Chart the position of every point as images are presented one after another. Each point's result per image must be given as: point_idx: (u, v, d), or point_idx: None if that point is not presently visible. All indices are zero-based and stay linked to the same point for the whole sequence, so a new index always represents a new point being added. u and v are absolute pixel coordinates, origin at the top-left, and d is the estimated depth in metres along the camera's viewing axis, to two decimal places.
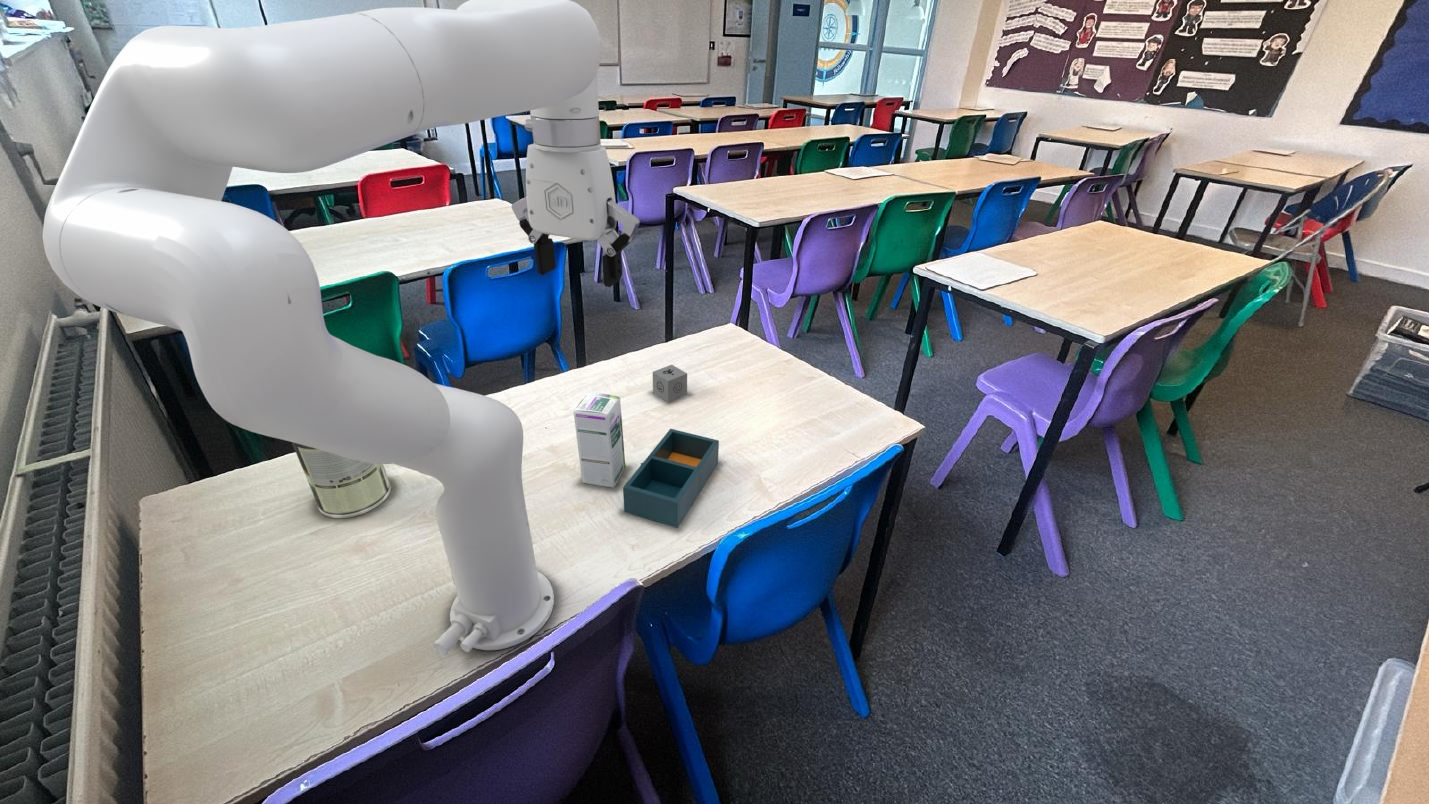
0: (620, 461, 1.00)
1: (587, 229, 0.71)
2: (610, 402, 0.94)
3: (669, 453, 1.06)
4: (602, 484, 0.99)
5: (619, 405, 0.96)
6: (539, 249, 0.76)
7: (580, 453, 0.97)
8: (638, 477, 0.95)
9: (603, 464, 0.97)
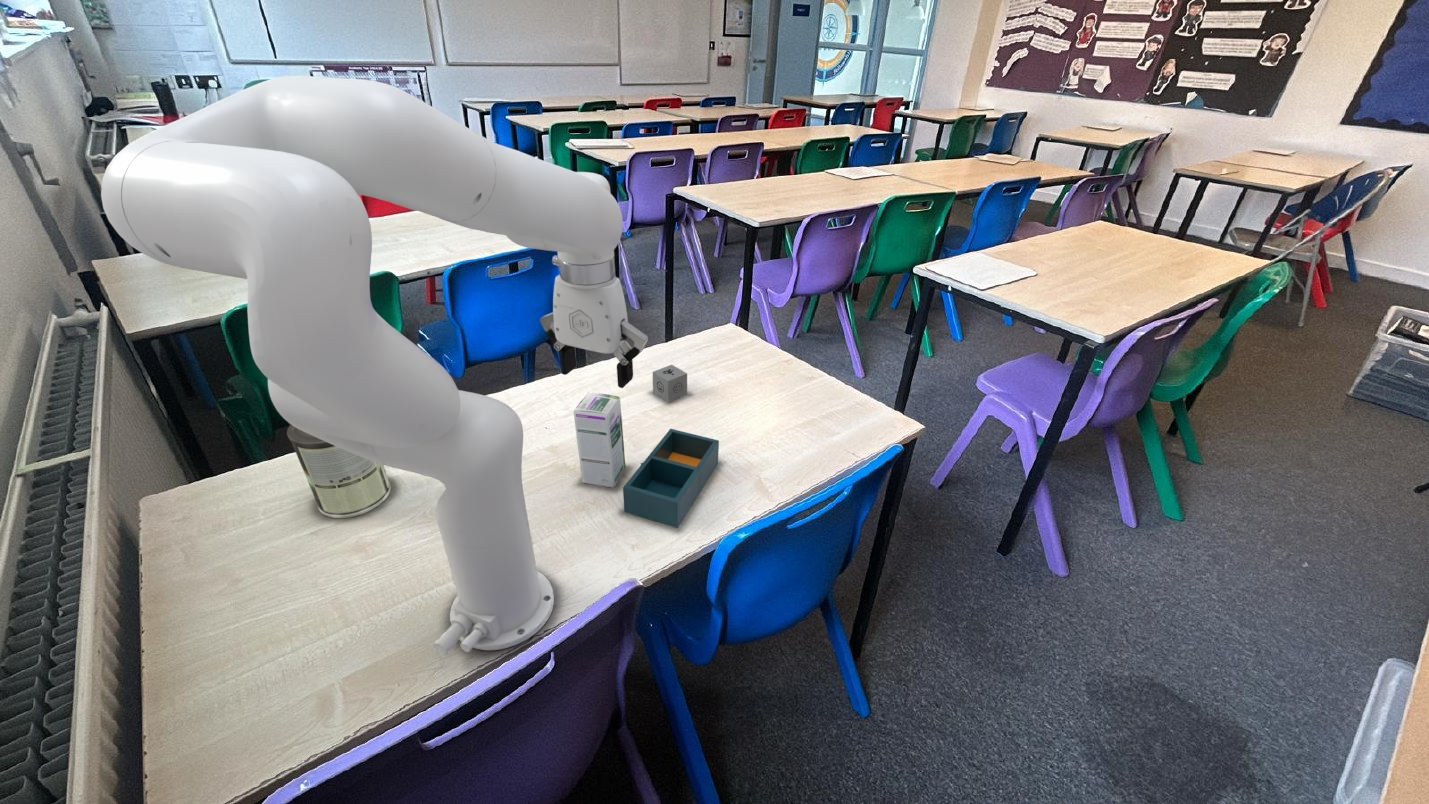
0: (620, 461, 1.00)
1: (604, 345, 0.85)
2: (610, 402, 0.94)
3: (669, 453, 1.06)
4: (602, 484, 0.99)
5: (619, 405, 0.96)
6: (563, 355, 0.90)
7: (580, 453, 0.97)
8: (638, 477, 0.95)
9: (603, 464, 0.97)
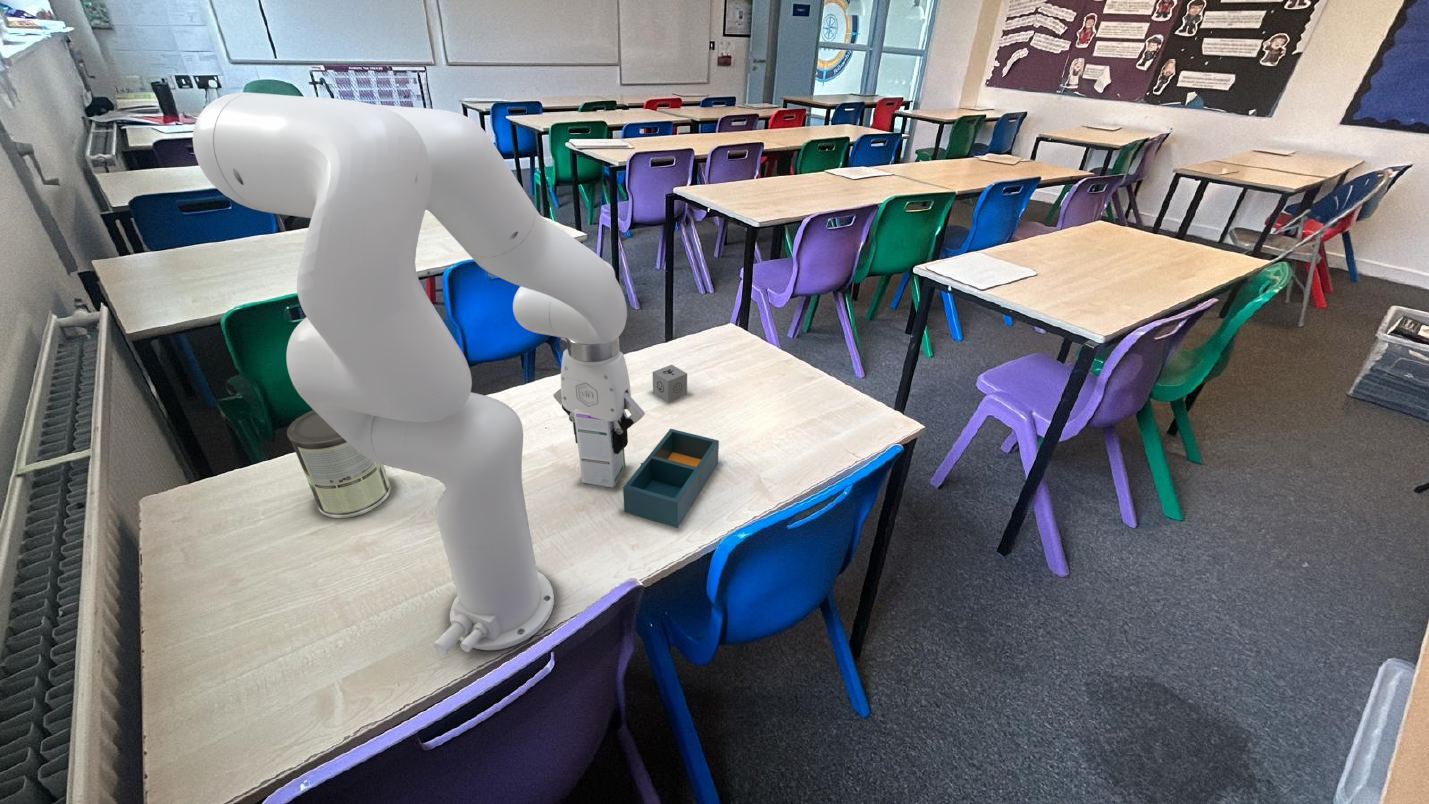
0: (620, 461, 1.00)
1: (608, 415, 0.91)
2: None
3: (669, 453, 1.06)
4: (602, 484, 0.99)
5: None
6: None
7: (580, 453, 0.97)
8: (638, 477, 0.95)
9: (603, 464, 0.97)
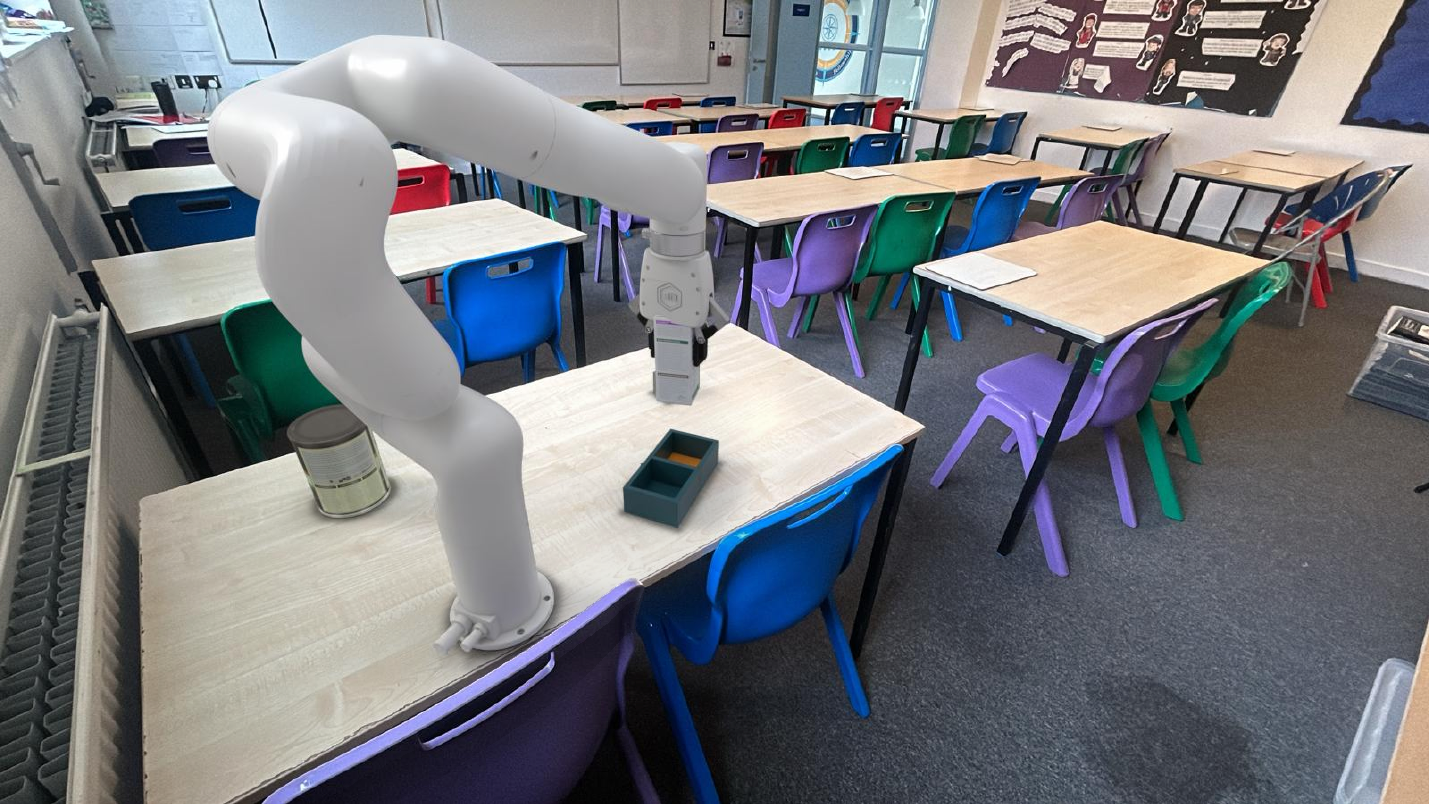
0: (696, 378, 0.93)
1: (693, 319, 0.84)
2: None
3: (669, 453, 1.06)
4: (678, 402, 0.92)
5: None
6: None
7: (657, 366, 0.90)
8: (638, 477, 0.95)
9: (681, 378, 0.90)
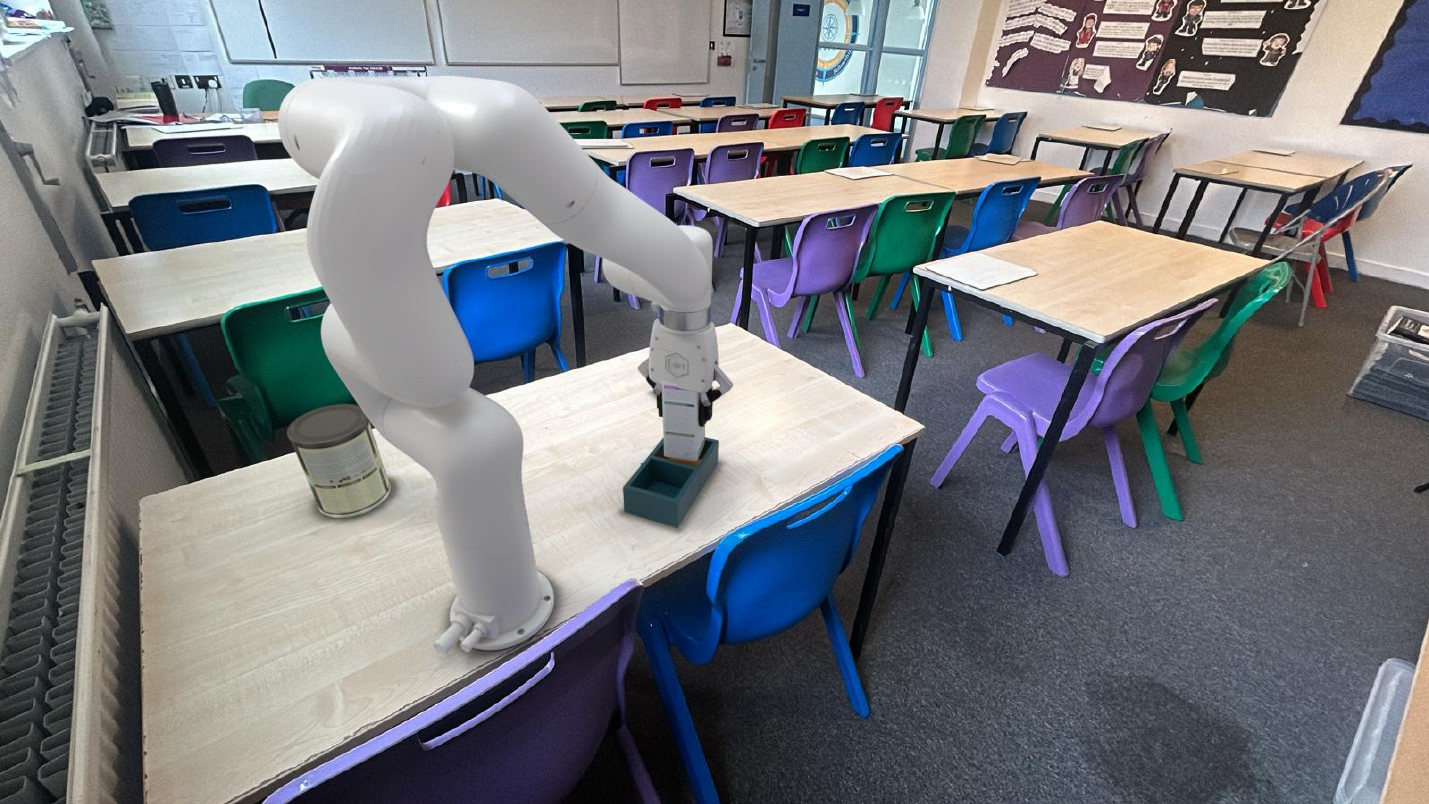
0: (702, 435, 0.99)
1: (698, 386, 0.90)
2: None
3: None
4: (685, 458, 0.98)
5: None
6: None
7: (665, 426, 0.96)
8: (638, 477, 0.95)
9: (688, 437, 0.96)
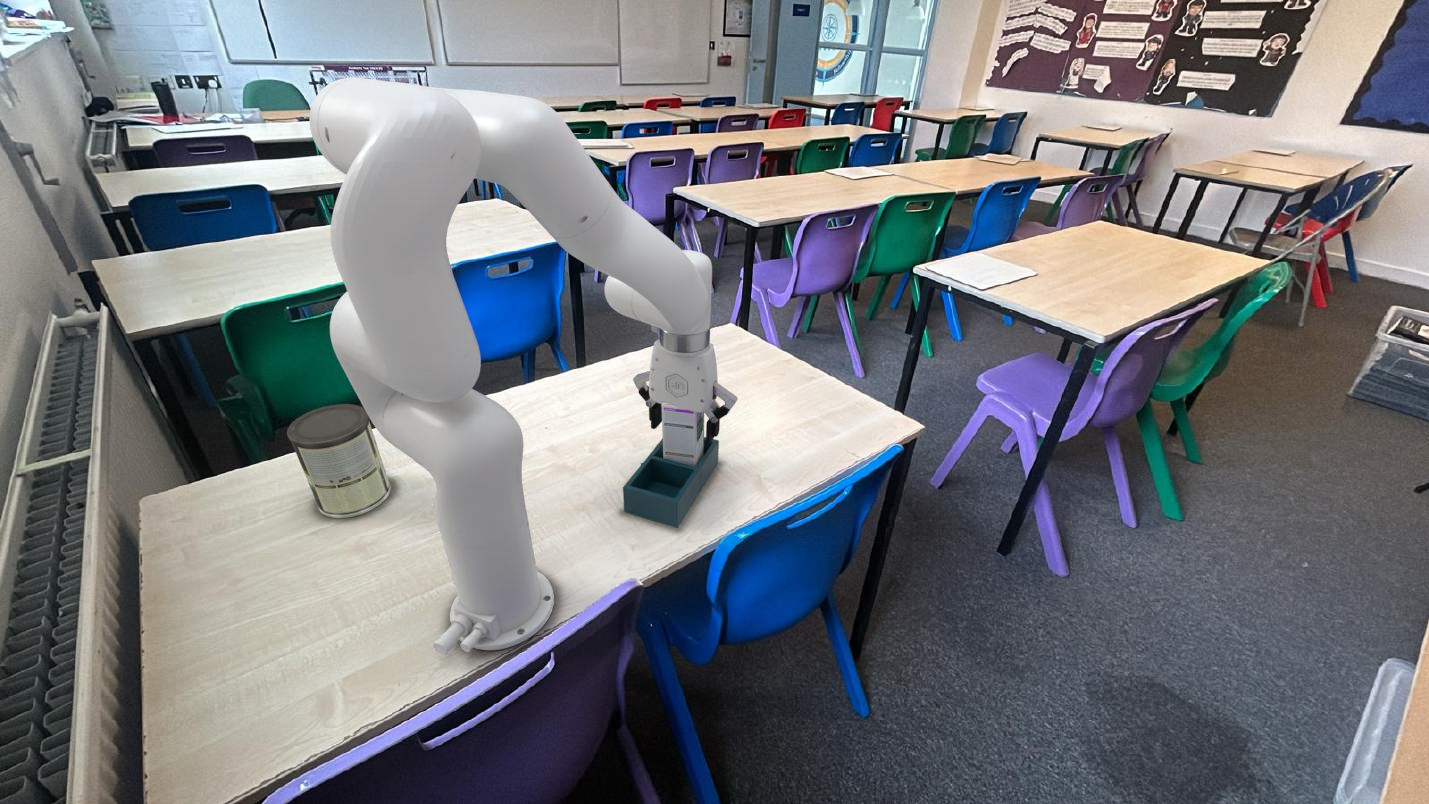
0: (701, 455, 1.01)
1: (698, 406, 0.92)
2: None
3: None
4: None
5: None
6: (654, 411, 0.97)
7: (664, 446, 0.98)
8: (638, 477, 0.95)
9: (687, 457, 0.98)
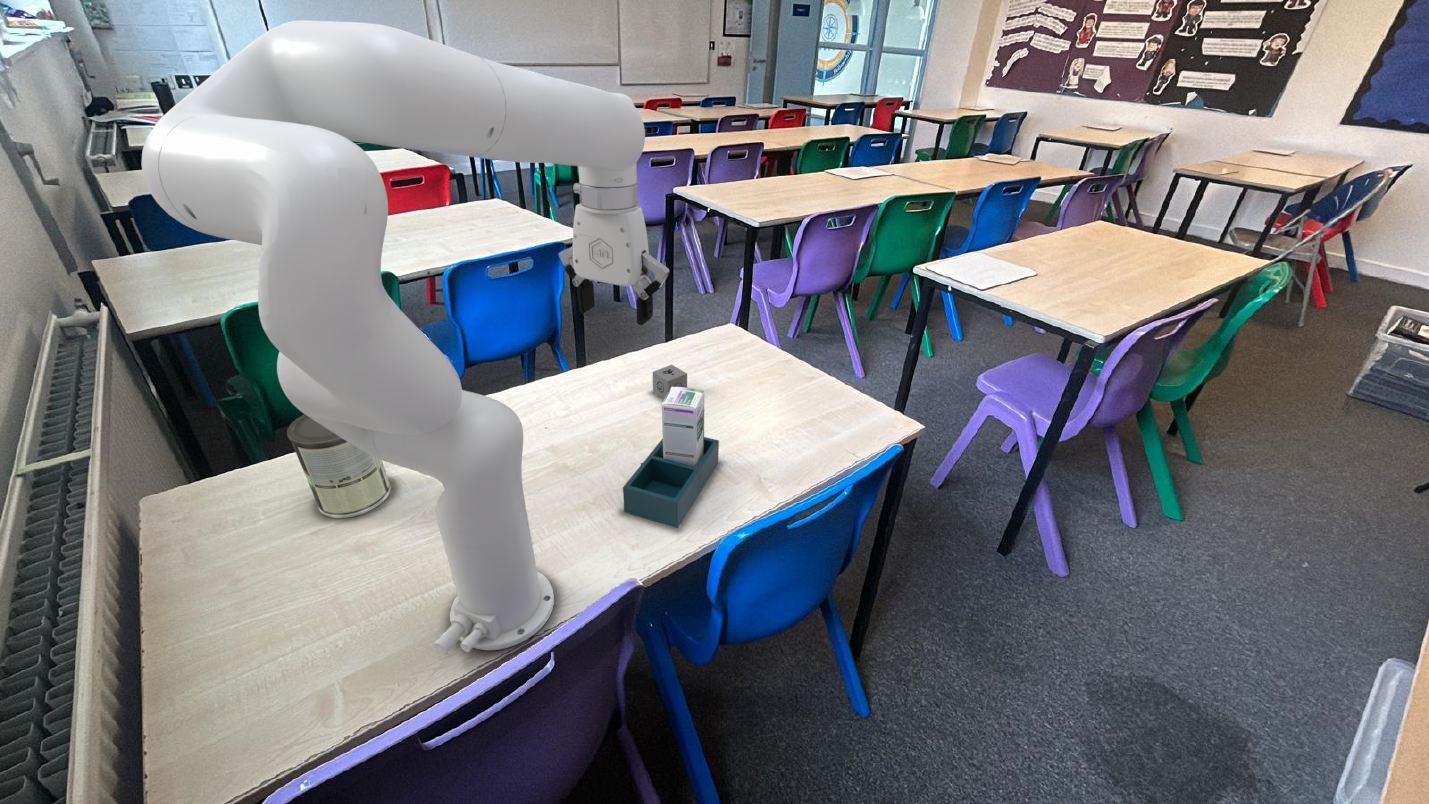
0: (701, 455, 1.01)
1: (624, 277, 0.82)
2: (696, 396, 0.95)
3: None
4: None
5: (703, 399, 0.97)
6: (581, 291, 0.88)
7: (664, 446, 0.98)
8: (638, 477, 0.95)
9: (687, 457, 0.98)
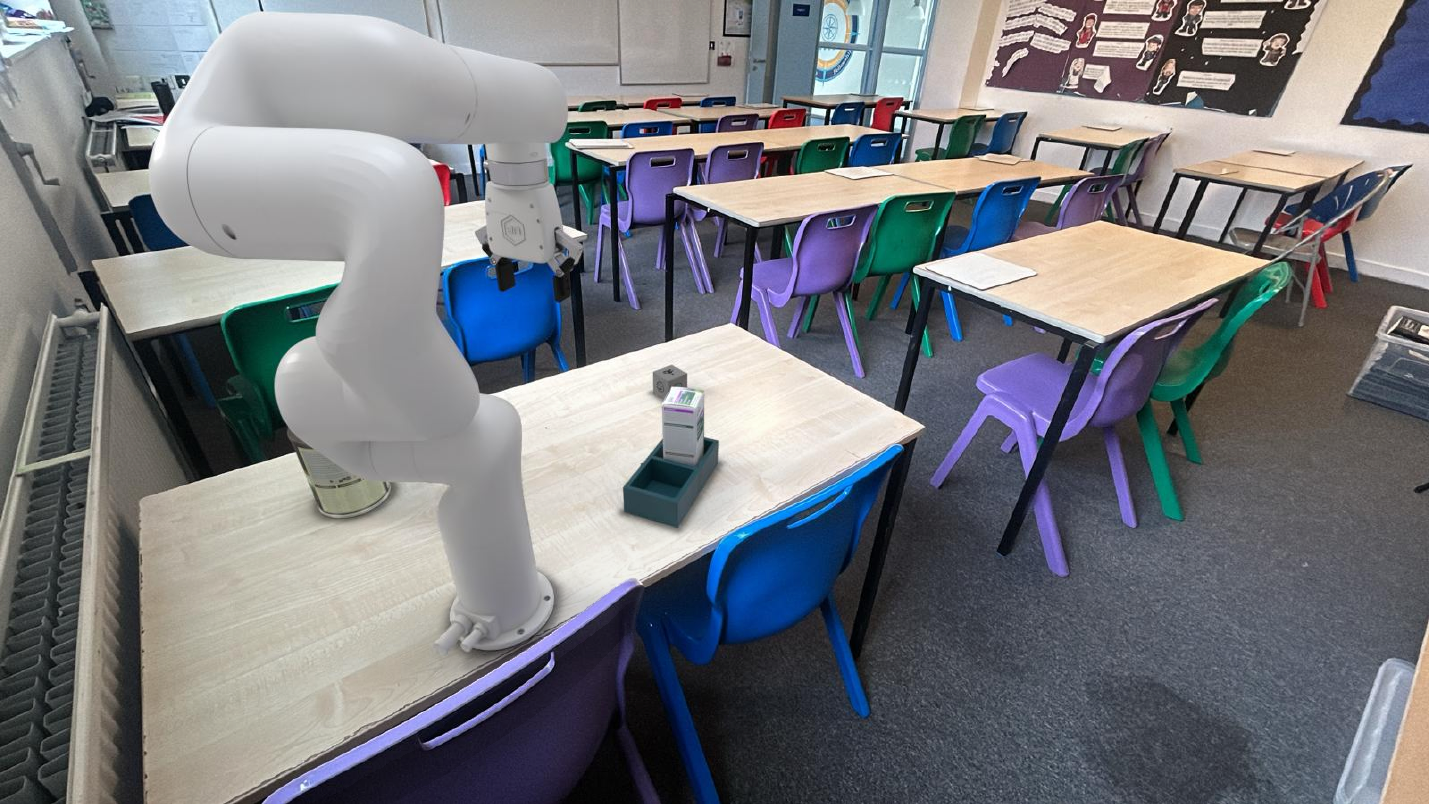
0: (701, 454, 1.01)
1: (538, 254, 0.83)
2: (696, 396, 0.96)
3: None
4: None
5: (703, 399, 0.97)
6: (499, 269, 0.88)
7: (664, 446, 0.98)
8: (638, 477, 0.95)
9: (687, 457, 0.98)
